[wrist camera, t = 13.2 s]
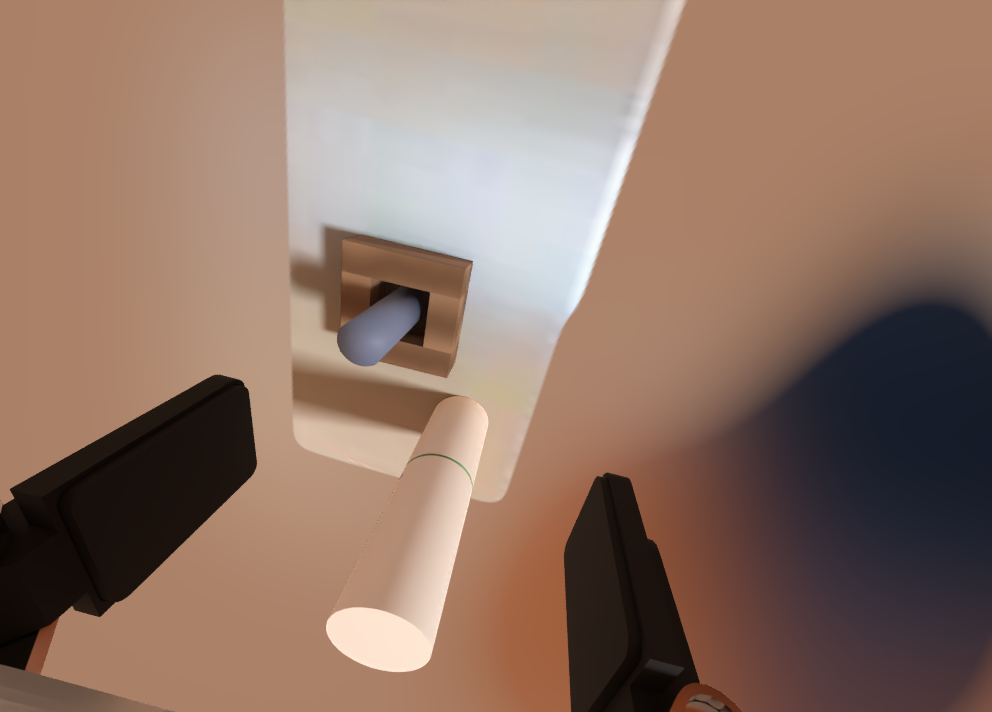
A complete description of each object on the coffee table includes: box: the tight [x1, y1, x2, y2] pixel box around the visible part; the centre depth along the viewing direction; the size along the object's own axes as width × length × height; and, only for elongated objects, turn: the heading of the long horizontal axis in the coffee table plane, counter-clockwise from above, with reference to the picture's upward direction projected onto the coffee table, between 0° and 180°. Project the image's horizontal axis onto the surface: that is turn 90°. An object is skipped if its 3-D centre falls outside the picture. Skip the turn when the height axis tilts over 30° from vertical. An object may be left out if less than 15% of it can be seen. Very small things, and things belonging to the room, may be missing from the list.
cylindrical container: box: [326, 396, 488, 672], centre depth 35 cm, size 7×7×25 cm
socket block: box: [340, 235, 473, 378], centre depth 38 cm, size 12×12×4 cm
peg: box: [337, 286, 429, 366], centre depth 35 cm, size 4×4×12 cm
